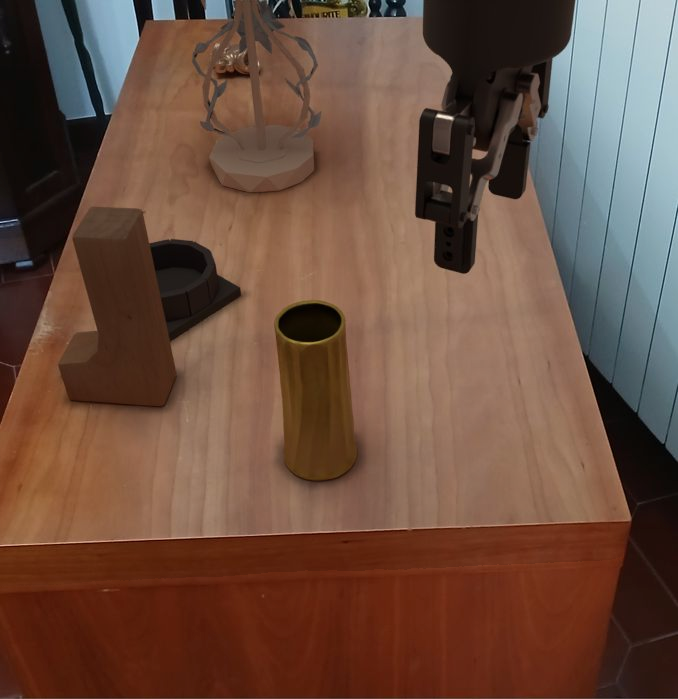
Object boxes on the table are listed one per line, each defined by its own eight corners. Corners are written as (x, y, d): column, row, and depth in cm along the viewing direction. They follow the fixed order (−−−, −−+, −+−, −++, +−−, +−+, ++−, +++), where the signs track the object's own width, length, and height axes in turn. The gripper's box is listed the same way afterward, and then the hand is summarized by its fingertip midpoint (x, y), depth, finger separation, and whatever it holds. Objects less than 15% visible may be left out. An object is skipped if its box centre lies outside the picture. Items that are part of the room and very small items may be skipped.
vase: (271, 444, 78) (254, 312, 68) (335, 418, 80) (327, 286, 70) (304, 493, 73) (290, 359, 64) (370, 463, 75) (367, 330, 66)
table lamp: (354, 121, 120) (343, -237, 94) (350, 212, 104) (336, -191, 78) (189, 124, 121) (133, -229, 95) (160, 215, 105) (83, -182, 79)
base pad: (164, 344, 88) (157, 312, 85) (101, 303, 93) (93, 271, 91) (241, 295, 93) (237, 262, 91) (178, 258, 99) (172, 227, 96)
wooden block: (67, 401, 82) (13, 233, 71) (84, 367, 86) (35, 202, 74) (164, 408, 81) (126, 238, 70) (178, 374, 85) (143, 206, 73)
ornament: (197, 73, 133) (193, 49, 131) (228, 56, 137) (225, 32, 135) (238, 86, 130) (235, 61, 127) (269, 68, 134) (267, 44, 131)
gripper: (483, -101, 51) (467, 161, 61) (366, -14, 41) (372, 278, 52) (619, -87, 48) (578, 186, 58) (527, 10, 38) (498, 314, 49)
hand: (481, 229), depth 55 cm, fingers open, 8 cm apart
